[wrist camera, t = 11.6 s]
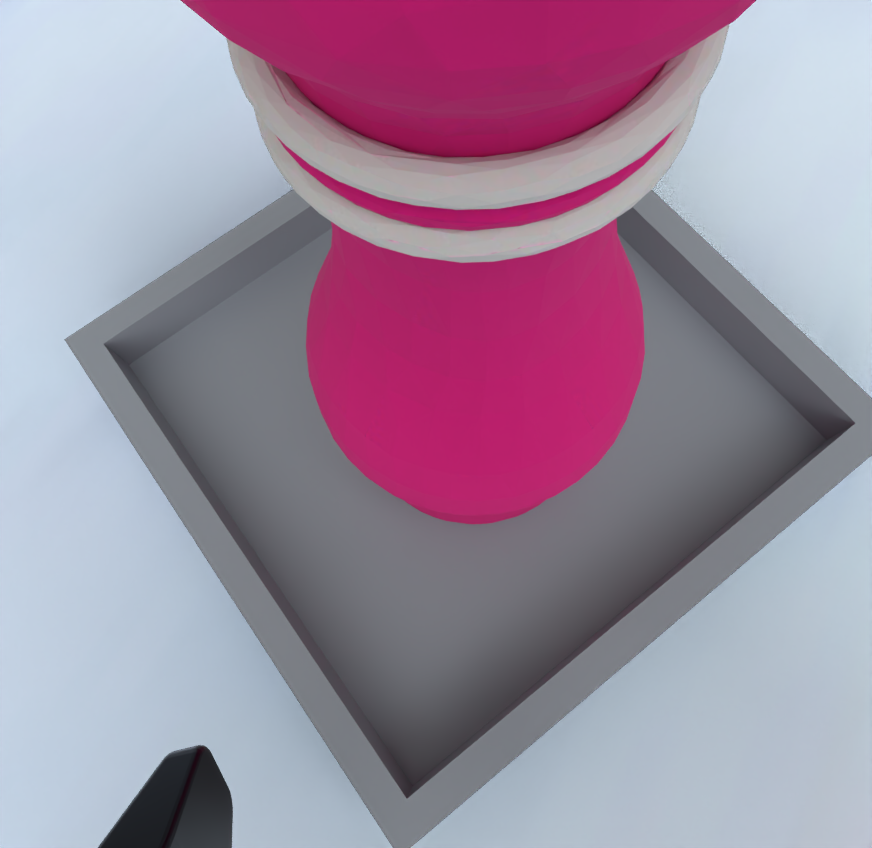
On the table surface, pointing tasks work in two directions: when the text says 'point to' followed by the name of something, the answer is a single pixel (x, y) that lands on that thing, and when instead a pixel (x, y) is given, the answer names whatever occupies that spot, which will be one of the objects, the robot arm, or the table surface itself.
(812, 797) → the table surface
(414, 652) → the tray
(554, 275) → the pepper mill
